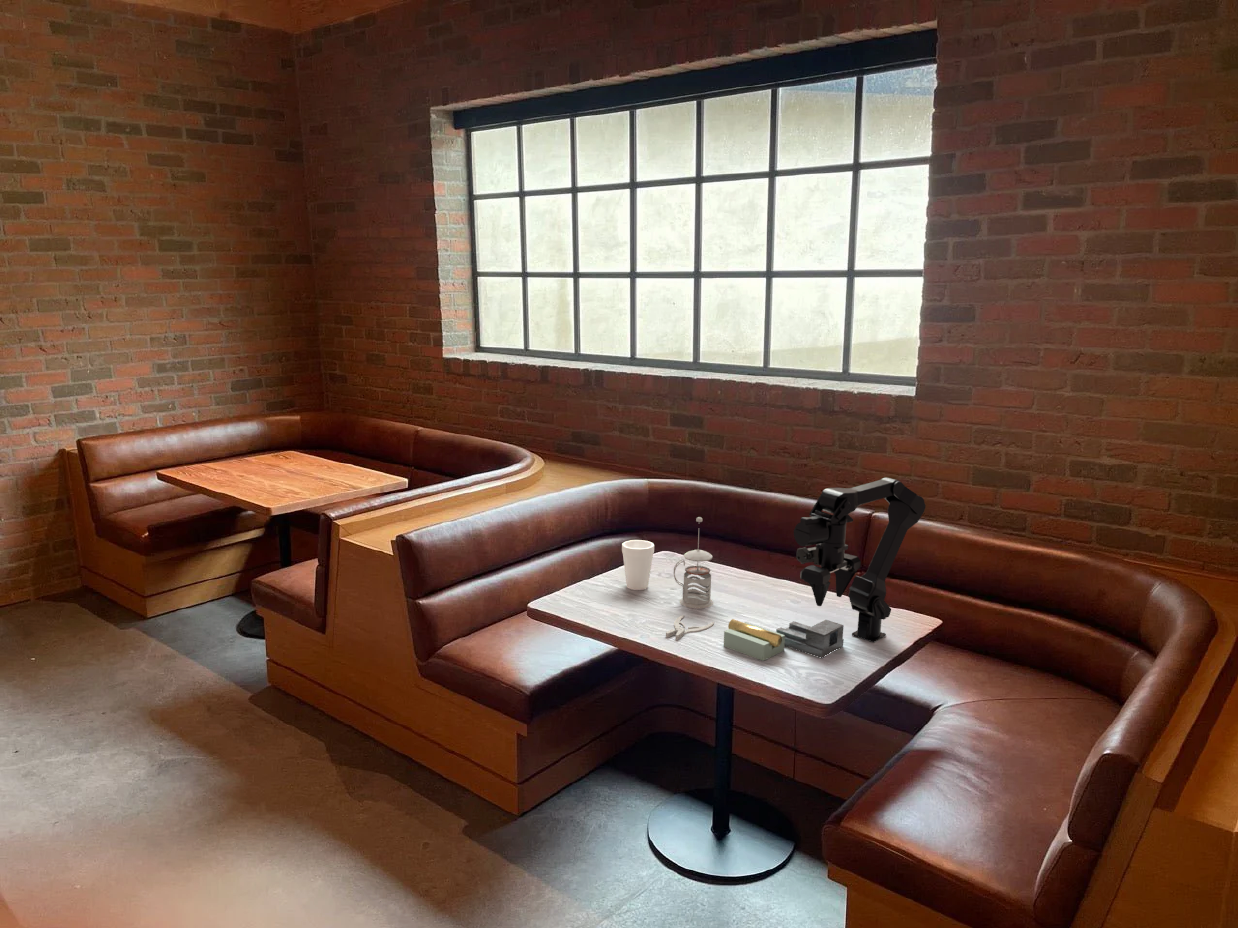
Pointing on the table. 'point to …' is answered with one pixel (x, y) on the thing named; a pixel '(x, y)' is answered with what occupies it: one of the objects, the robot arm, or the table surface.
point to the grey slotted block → (814, 637)
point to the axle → (756, 632)
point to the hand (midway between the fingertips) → (829, 601)
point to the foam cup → (637, 563)
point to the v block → (751, 644)
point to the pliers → (680, 631)
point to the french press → (696, 579)
